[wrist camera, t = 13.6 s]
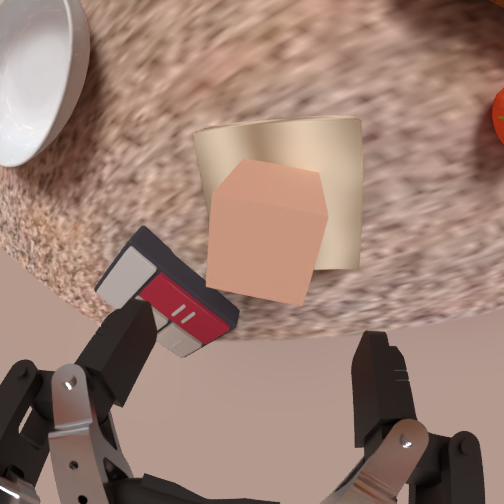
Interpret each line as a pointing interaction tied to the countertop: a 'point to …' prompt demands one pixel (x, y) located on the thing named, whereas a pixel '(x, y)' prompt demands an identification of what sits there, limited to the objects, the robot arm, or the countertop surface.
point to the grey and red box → (167, 294)
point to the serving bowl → (39, 73)
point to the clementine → (499, 115)
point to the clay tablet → (498, 2)
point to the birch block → (299, 156)
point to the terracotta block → (266, 231)
